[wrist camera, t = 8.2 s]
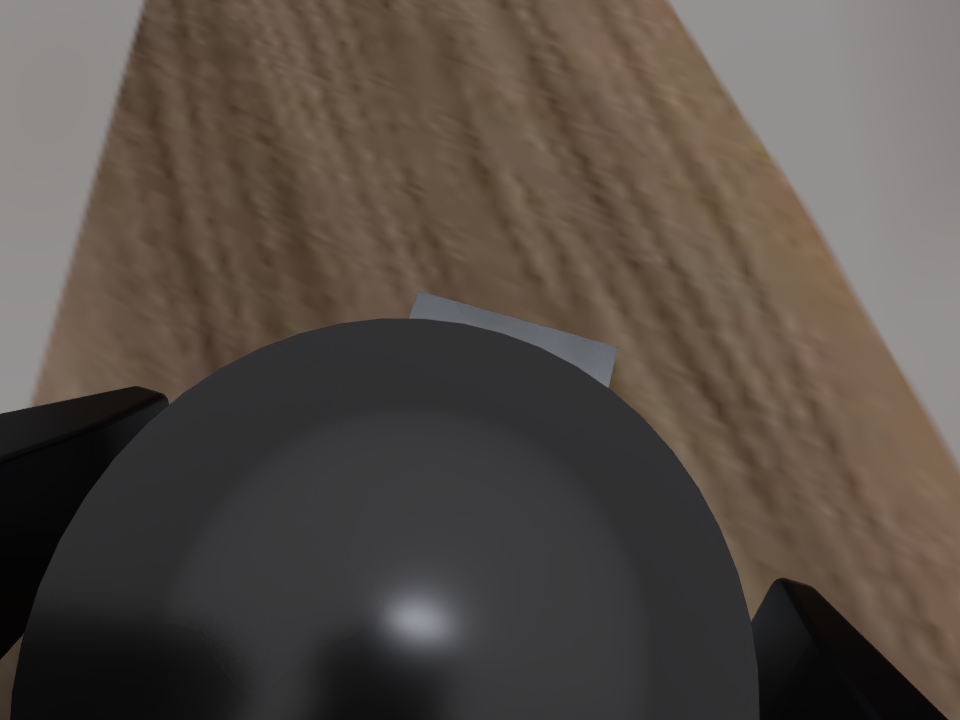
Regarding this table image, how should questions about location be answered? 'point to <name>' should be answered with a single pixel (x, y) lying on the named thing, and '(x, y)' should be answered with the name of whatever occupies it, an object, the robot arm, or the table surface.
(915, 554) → the table surface
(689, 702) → the axle
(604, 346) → the v block
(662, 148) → the table surface
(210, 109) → the table surface
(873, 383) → the table surface
